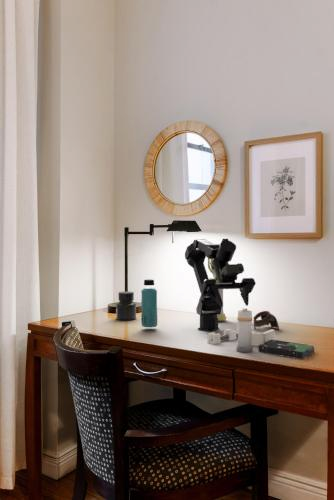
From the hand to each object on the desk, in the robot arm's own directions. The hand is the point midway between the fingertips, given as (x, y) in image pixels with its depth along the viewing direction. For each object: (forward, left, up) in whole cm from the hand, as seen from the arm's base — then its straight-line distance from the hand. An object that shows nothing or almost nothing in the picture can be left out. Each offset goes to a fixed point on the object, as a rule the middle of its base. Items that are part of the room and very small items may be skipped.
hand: (235, 305), depth 149 cm
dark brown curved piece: (-2, +31, -14) cm, 34 cm away
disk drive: (+18, +1, -14) cm, 23 cm away
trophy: (-26, +34, -14) cm, 45 cm away
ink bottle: (-62, +14, -14) cm, 65 cm away
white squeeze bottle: (+6, -5, -13) cm, 16 cm away
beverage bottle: (-39, +2, -14) cm, 42 cm away
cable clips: (-5, +7, -13) cm, 16 cm away
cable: (-2, +7, -13) cm, 15 cm away
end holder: (+5, +7, -13) cm, 16 cm away
